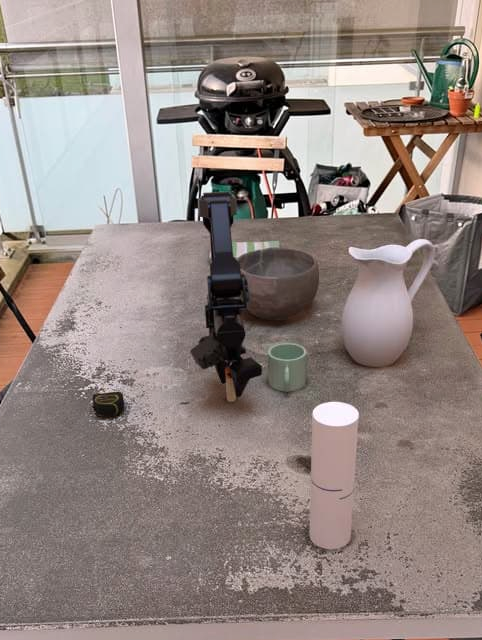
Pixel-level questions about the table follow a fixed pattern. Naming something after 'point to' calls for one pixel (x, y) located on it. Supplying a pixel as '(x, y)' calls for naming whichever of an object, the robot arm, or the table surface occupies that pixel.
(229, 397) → the marker
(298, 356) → the green handled mug
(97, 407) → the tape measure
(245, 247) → the dish towel
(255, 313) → the bowl
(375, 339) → the pitcher
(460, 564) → the table surface
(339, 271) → the table surface
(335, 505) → the cylindrical container
